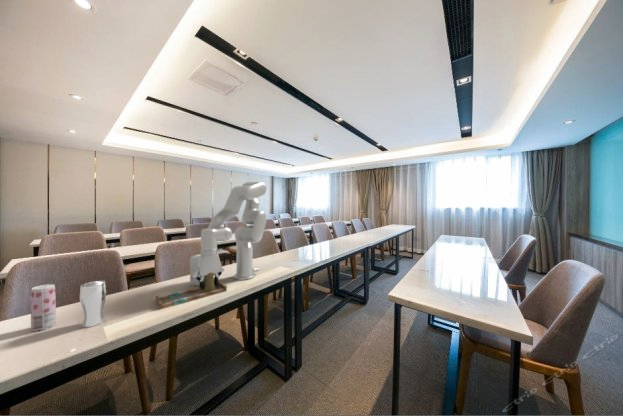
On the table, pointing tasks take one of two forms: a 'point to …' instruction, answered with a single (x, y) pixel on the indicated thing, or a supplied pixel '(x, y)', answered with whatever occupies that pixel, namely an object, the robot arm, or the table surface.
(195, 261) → the skincare box
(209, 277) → the cork
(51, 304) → the beverage can
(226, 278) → the table surface
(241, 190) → the robot arm
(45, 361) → the table surface
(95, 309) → the beer glass
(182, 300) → the brown wooden tray
